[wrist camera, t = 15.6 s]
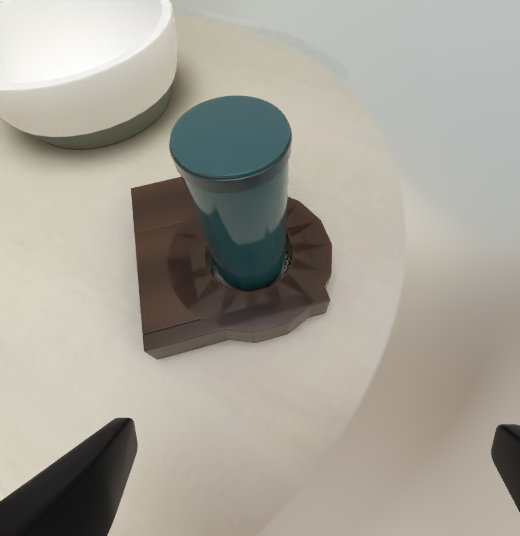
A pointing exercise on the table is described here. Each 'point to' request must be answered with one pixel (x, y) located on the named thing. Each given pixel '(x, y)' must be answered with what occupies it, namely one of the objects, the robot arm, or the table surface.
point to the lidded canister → (237, 185)
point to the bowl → (85, 68)
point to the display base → (205, 285)
